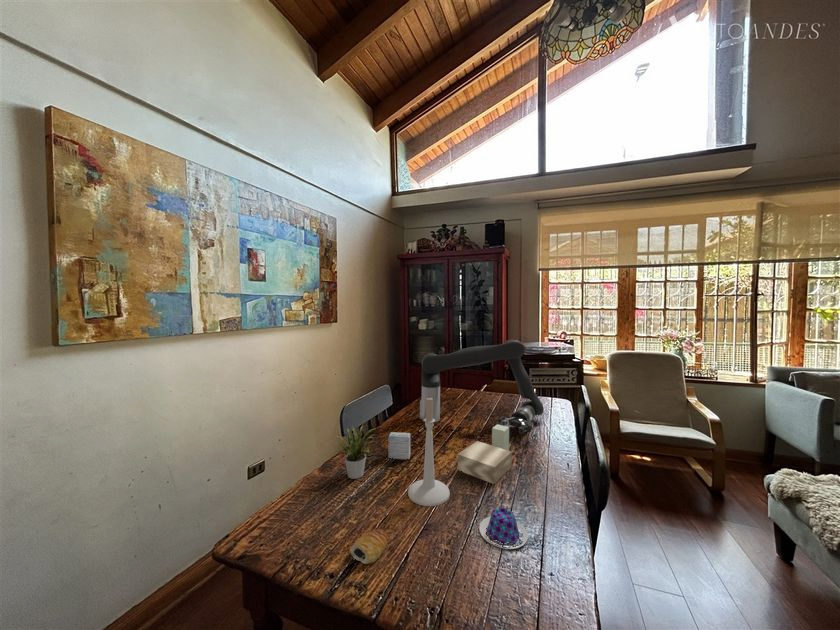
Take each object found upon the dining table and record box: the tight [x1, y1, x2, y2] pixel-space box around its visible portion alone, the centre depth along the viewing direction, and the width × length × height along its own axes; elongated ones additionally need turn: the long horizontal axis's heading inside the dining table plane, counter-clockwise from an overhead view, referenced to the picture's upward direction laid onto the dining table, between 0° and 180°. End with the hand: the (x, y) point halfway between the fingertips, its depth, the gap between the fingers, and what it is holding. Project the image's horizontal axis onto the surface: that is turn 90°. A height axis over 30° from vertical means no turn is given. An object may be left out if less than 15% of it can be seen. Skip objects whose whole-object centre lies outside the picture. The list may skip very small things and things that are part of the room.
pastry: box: [349, 529, 389, 565], centre depth 76 cm, size 9×7×4 cm
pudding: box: [478, 507, 529, 550], centre depth 82 cm, size 12×12×5 cm
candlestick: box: [407, 397, 451, 507], centre depth 98 cm, size 13×13×30 cm
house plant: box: [334, 424, 377, 480], centre depth 109 cm, size 14×14×16 cm
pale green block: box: [491, 423, 510, 451], centre depth 126 cm, size 5×5×10 cm
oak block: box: [457, 440, 513, 485], centre depth 114 cm, size 14×14×6 cm
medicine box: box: [387, 431, 411, 460], centre depth 122 cm, size 8×4×9 cm, turn 84°
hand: (510, 428), depth 135 cm, fingers open, 8 cm apart
